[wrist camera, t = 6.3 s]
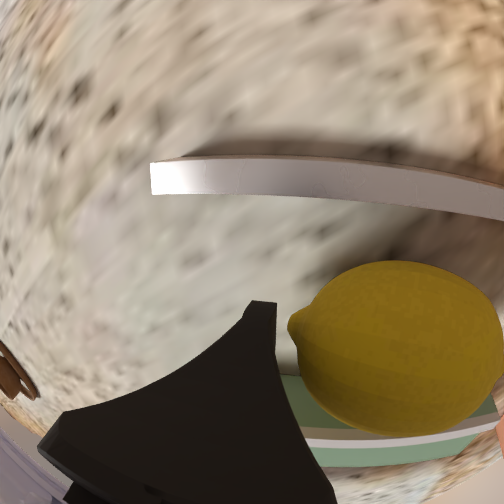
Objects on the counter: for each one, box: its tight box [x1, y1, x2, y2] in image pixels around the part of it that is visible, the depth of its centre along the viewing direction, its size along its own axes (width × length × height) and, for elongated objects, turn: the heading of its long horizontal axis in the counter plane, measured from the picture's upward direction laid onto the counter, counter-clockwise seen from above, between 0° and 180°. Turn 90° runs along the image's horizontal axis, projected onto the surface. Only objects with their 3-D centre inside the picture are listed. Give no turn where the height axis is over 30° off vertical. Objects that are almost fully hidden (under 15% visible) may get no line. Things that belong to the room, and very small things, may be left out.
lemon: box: [287, 260, 504, 437], centre depth 7 cm, size 6×6×8 cm
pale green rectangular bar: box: [280, 374, 501, 467], centre depth 11 cm, size 4×16×4 cm, turn 90°
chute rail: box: [150, 155, 504, 221], centre depth 7 cm, size 1×16×2 cm, turn 91°
